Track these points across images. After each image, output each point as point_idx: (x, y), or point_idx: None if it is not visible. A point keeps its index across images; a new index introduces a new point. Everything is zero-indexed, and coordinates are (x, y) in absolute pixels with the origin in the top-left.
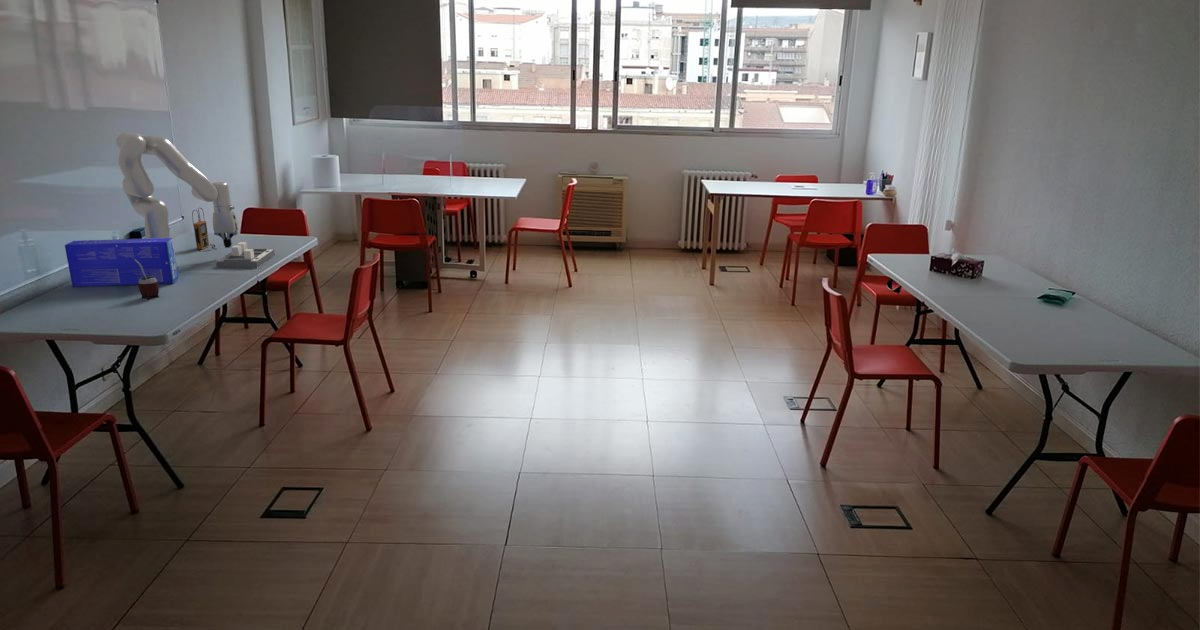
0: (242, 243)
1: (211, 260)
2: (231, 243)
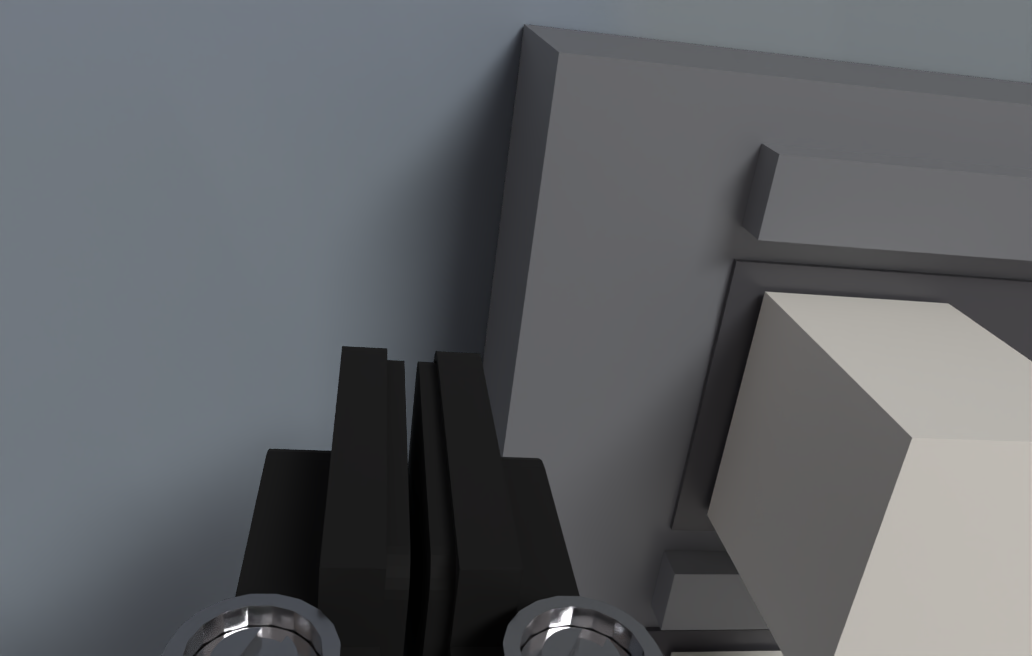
0: (994, 642)
1: (50, 547)
2: (545, 476)
